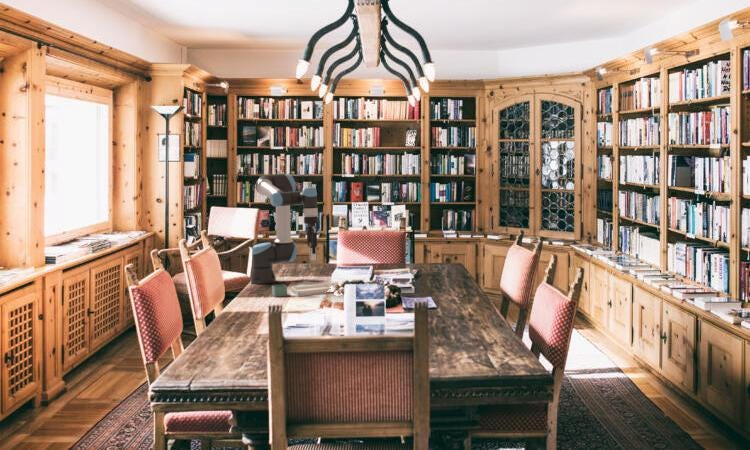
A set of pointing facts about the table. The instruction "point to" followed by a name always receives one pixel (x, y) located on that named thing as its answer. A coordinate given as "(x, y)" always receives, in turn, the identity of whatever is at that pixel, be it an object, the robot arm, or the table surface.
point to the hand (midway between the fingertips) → (312, 259)
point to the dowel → (312, 262)
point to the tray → (311, 289)
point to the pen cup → (279, 290)
